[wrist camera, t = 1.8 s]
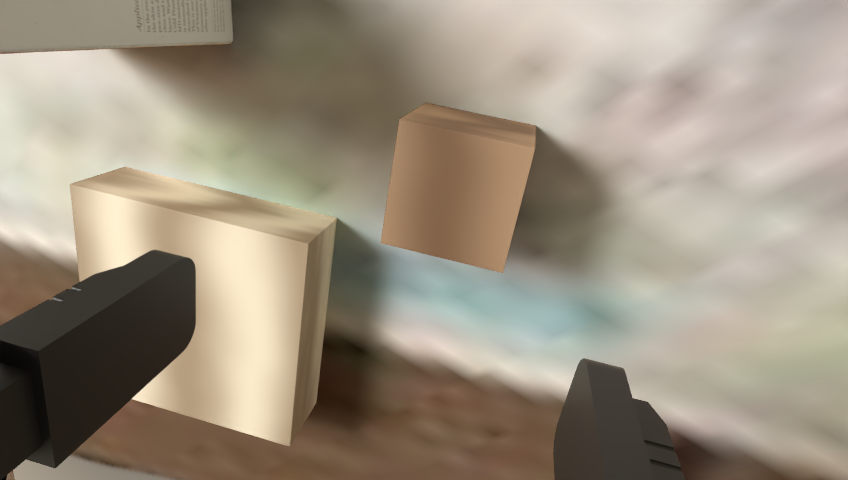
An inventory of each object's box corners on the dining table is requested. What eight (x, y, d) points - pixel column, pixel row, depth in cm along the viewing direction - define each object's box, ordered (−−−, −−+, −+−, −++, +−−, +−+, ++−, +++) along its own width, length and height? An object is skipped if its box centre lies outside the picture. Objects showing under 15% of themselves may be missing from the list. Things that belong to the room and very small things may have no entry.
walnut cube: (536, 125, 23) (535, 148, 18) (509, 229, 25) (502, 272, 20) (426, 102, 24) (399, 119, 19) (408, 205, 26) (380, 242, 21)
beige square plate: (339, 215, 27) (308, 243, 23) (318, 399, 32) (289, 446, 28) (130, 165, 28) (69, 184, 25) (140, 347, 33) (90, 386, 29)
